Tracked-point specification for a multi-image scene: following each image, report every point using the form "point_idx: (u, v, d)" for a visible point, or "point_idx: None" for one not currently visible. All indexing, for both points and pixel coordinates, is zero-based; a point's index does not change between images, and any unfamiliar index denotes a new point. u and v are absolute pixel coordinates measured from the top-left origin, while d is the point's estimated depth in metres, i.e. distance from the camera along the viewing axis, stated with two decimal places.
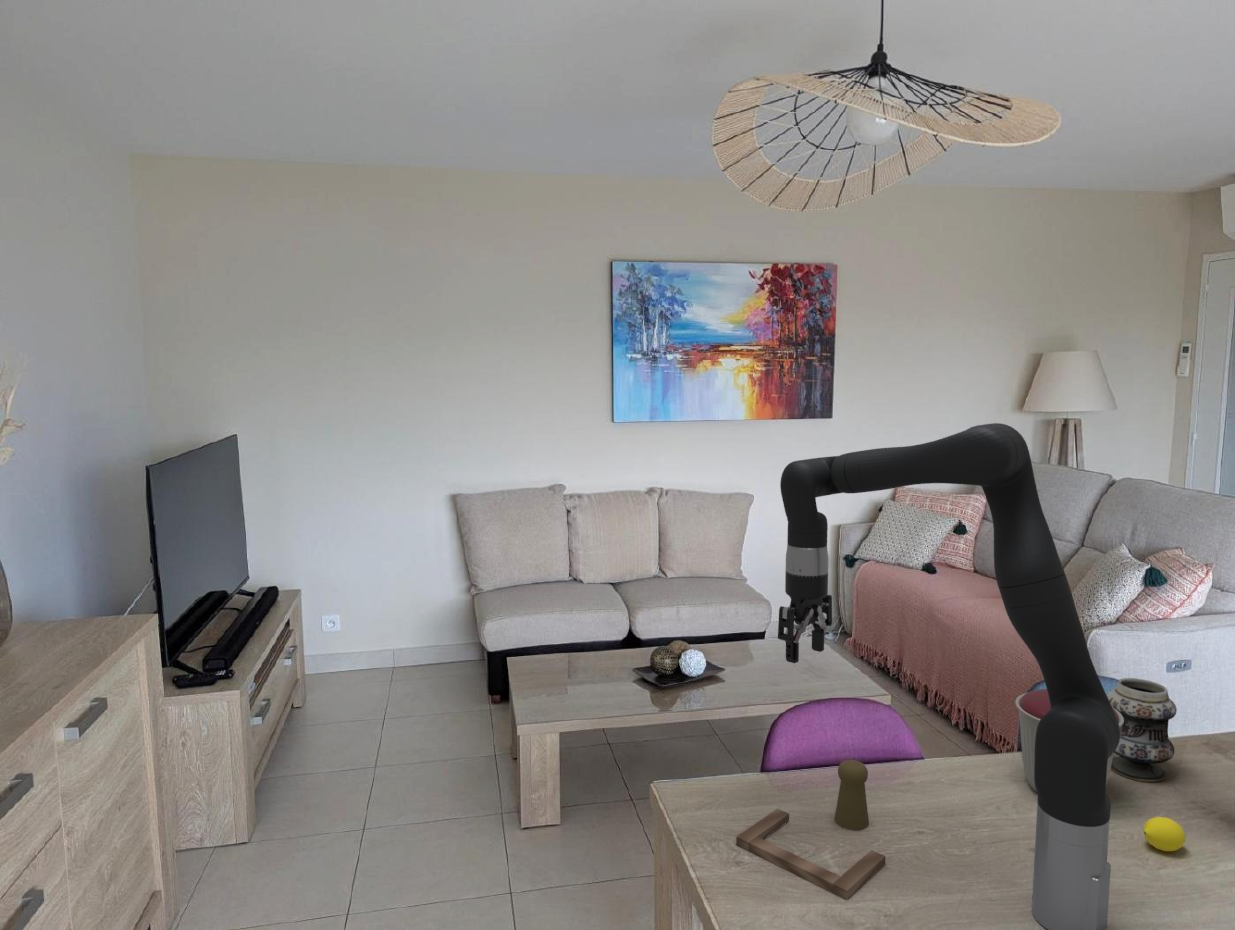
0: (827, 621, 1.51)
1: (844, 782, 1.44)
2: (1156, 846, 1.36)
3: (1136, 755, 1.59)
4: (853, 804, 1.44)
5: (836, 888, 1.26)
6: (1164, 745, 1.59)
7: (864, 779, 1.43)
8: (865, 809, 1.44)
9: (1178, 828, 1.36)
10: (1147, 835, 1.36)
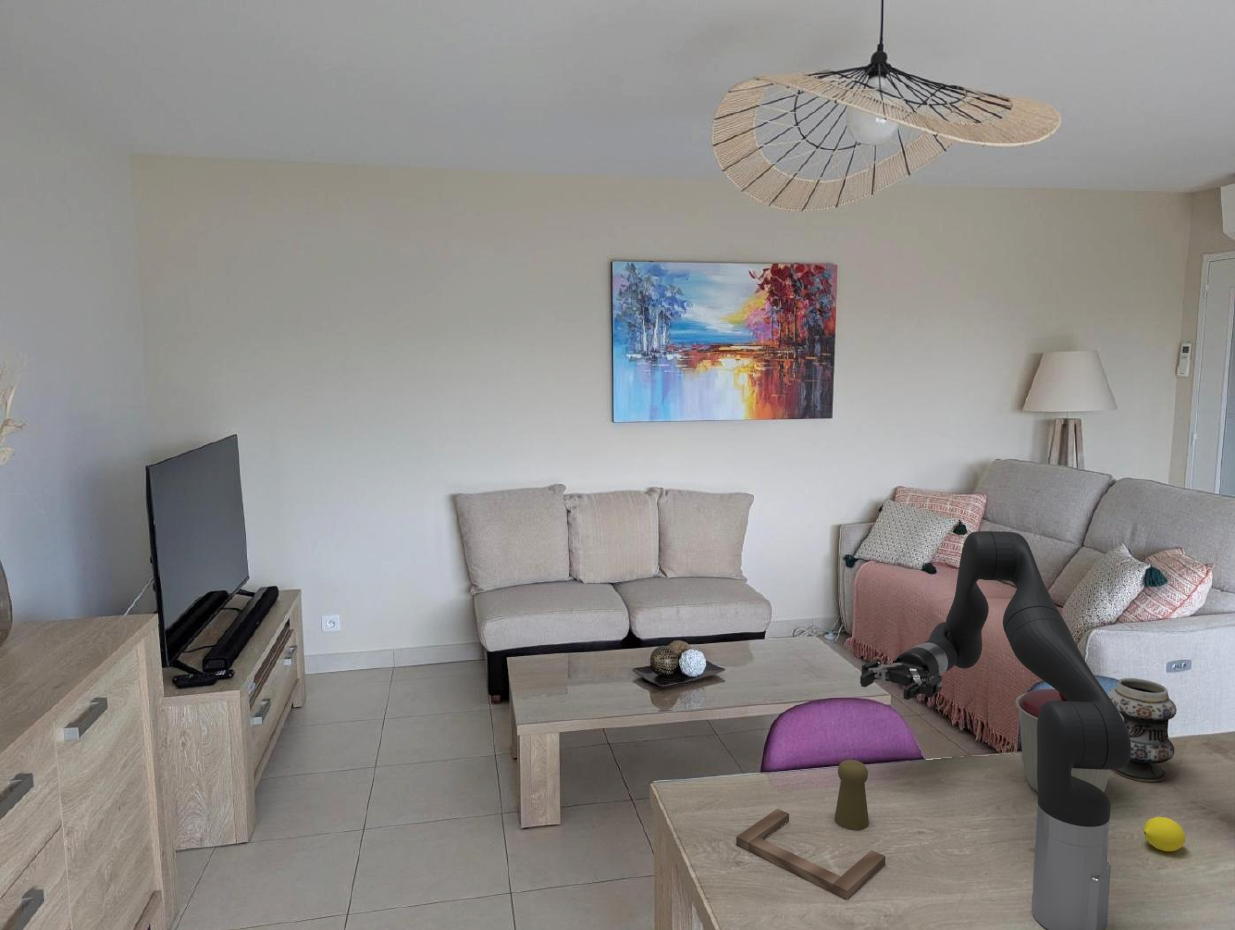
0: None
1: (844, 782, 1.44)
2: (1156, 846, 1.36)
3: (1136, 755, 1.59)
4: (853, 804, 1.44)
5: (836, 888, 1.26)
6: (1164, 745, 1.59)
7: (864, 779, 1.43)
8: (865, 809, 1.44)
9: (1178, 828, 1.36)
10: (1147, 835, 1.36)
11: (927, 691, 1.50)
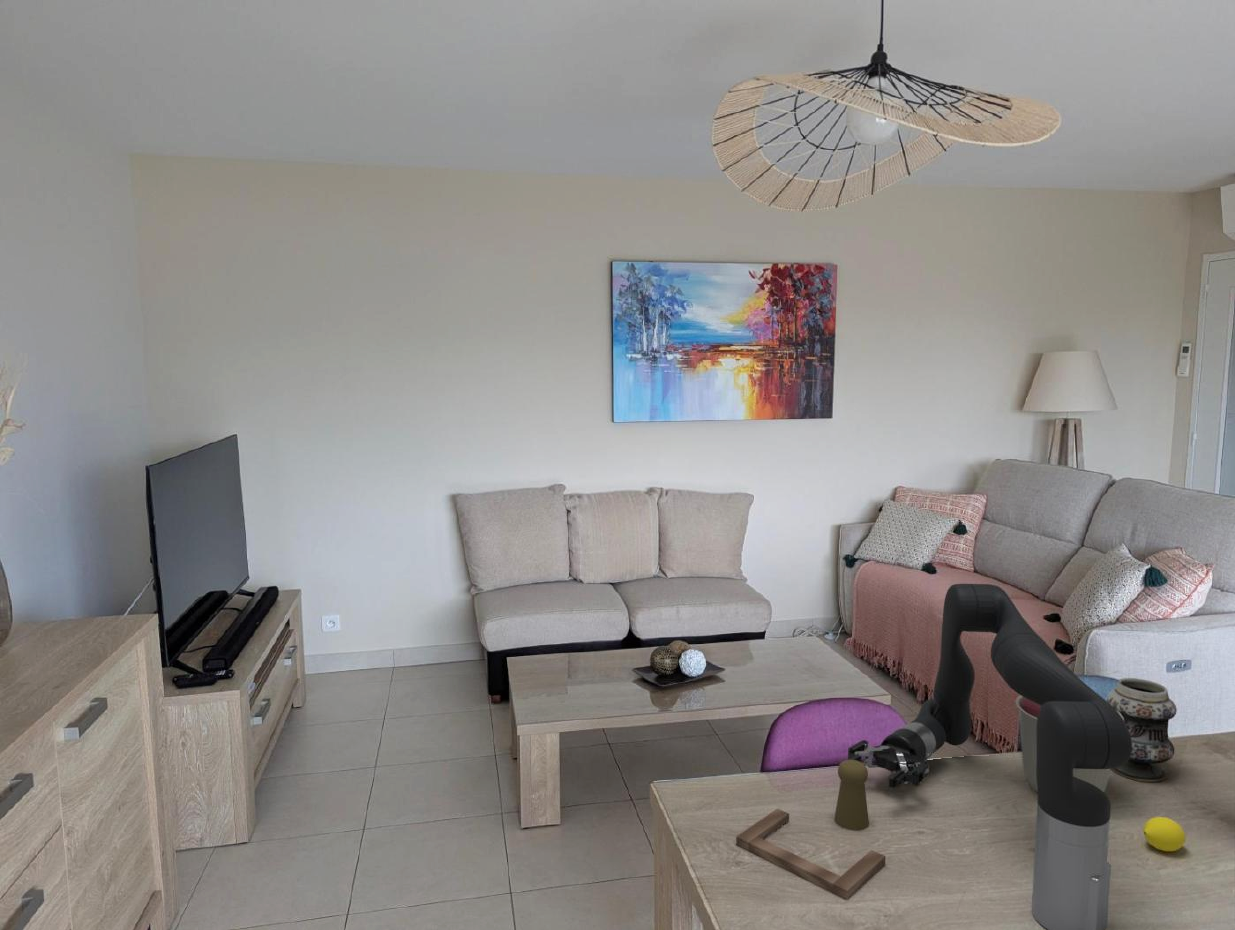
0: None
1: (844, 782, 1.44)
2: (1156, 846, 1.36)
3: (1136, 755, 1.59)
4: (853, 804, 1.44)
5: (836, 888, 1.26)
6: (1164, 745, 1.59)
7: (864, 779, 1.43)
8: (865, 809, 1.44)
9: (1178, 828, 1.36)
10: (1147, 835, 1.36)
11: (913, 779, 1.48)
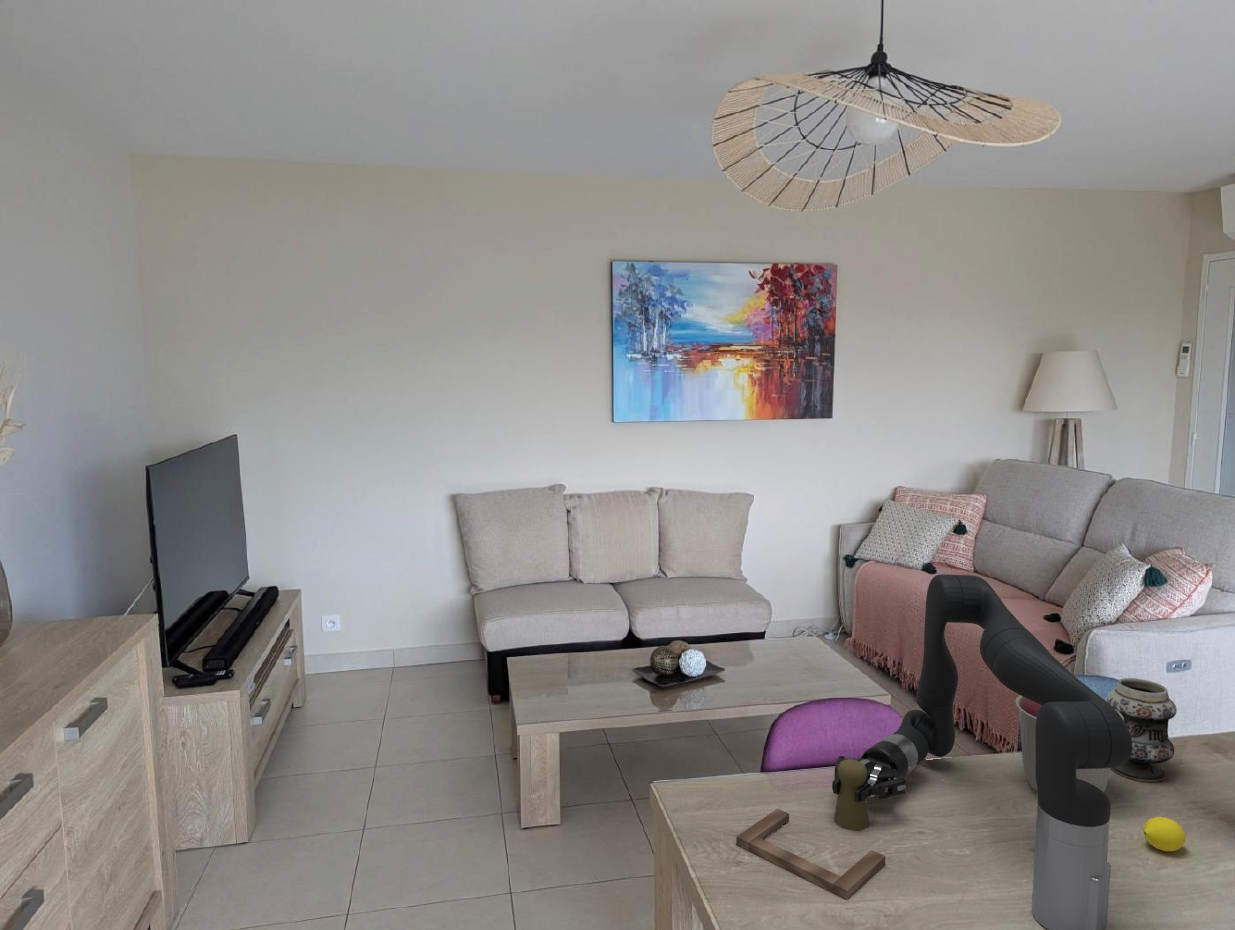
0: None
1: (843, 782, 1.44)
2: (1156, 846, 1.36)
3: (1136, 755, 1.59)
4: (853, 804, 1.44)
5: (836, 888, 1.26)
6: (1165, 745, 1.59)
7: (863, 779, 1.43)
8: (865, 809, 1.44)
9: (1178, 828, 1.36)
10: (1147, 835, 1.36)
11: (879, 793, 1.44)
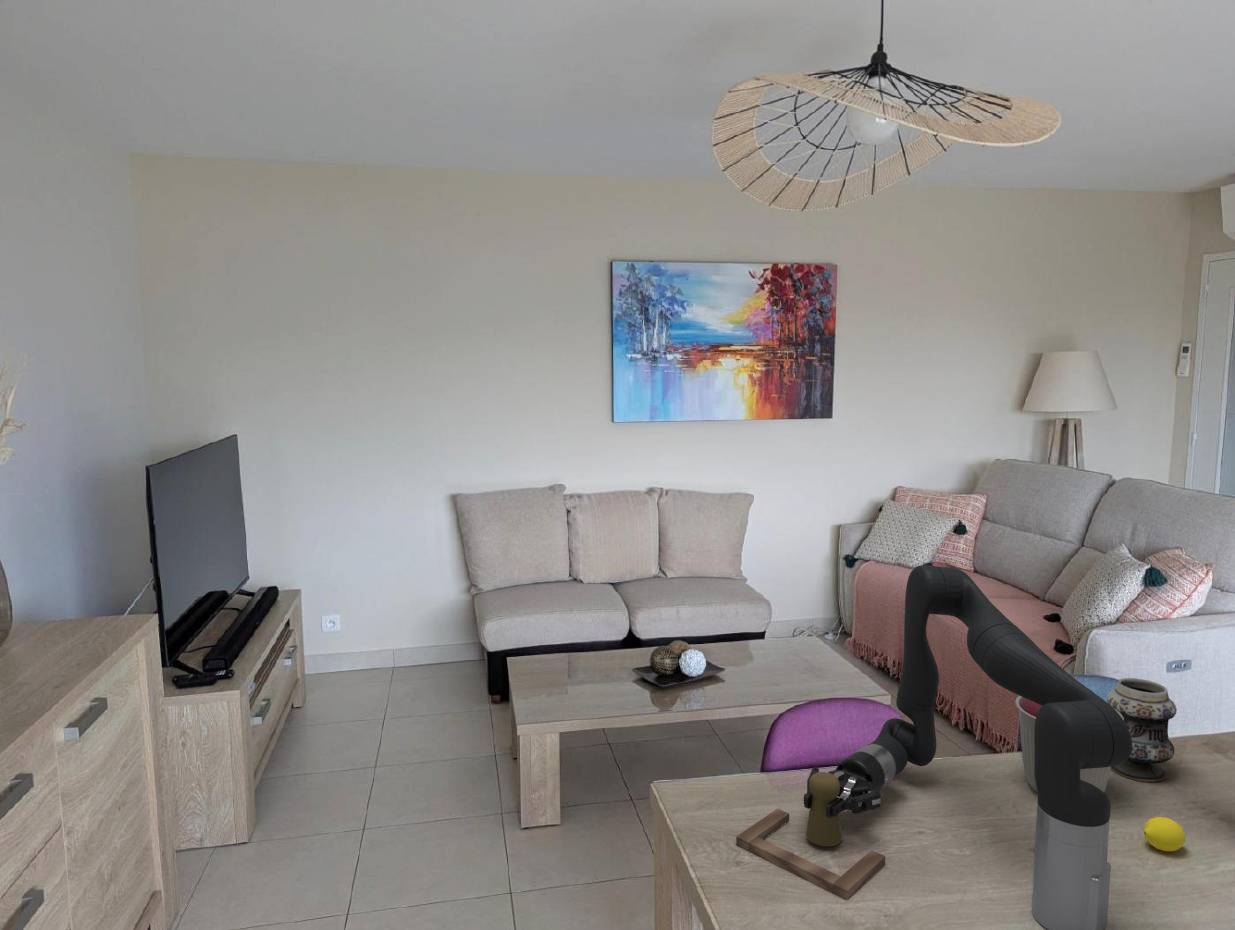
0: None
1: (815, 796, 1.38)
2: (1156, 846, 1.36)
3: (1136, 755, 1.59)
4: (824, 819, 1.37)
5: (836, 888, 1.26)
6: (1164, 745, 1.59)
7: (836, 793, 1.37)
8: (837, 824, 1.38)
9: (1178, 828, 1.35)
10: (1147, 835, 1.36)
11: (852, 807, 1.37)
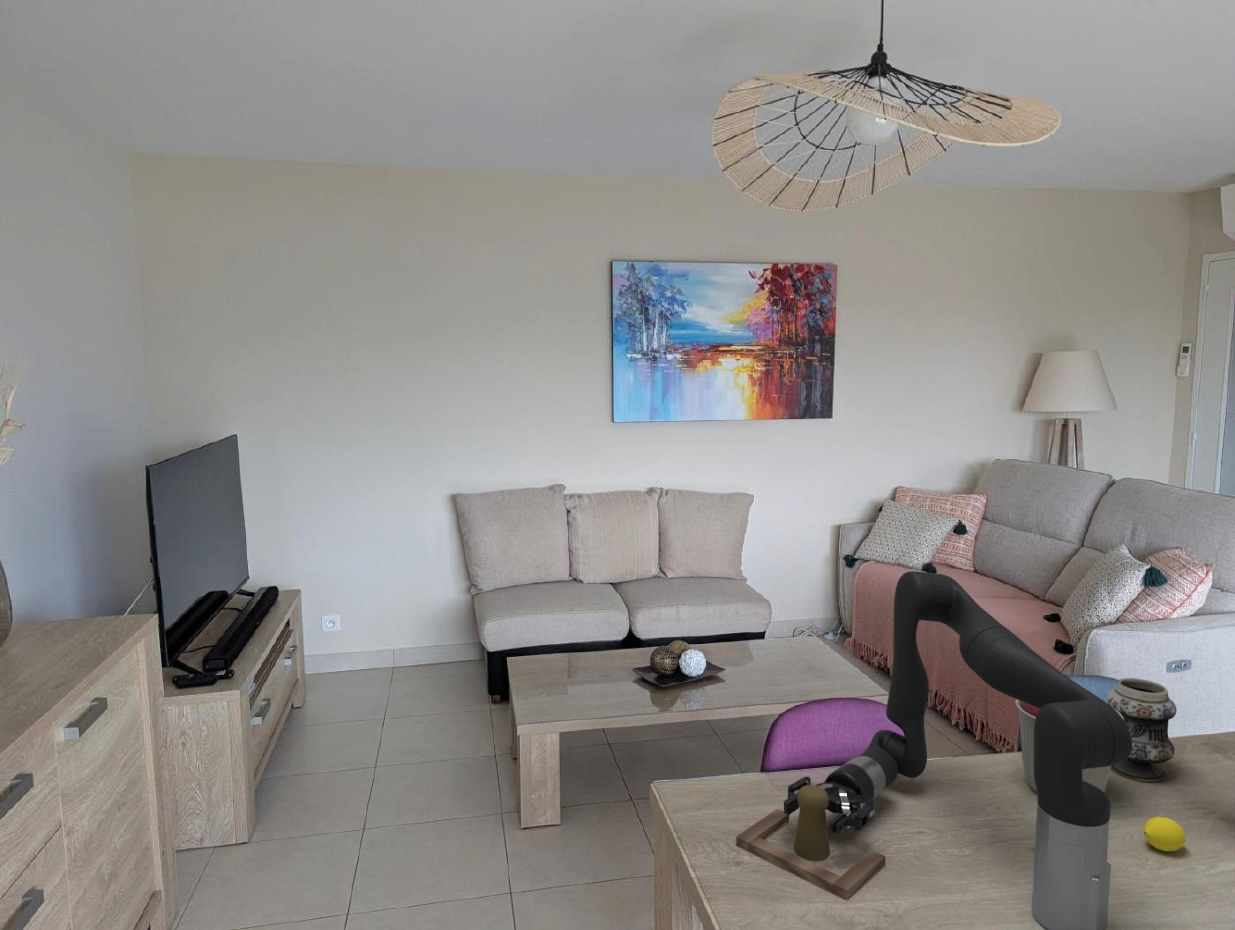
0: None
1: (803, 809, 1.35)
2: (1156, 846, 1.36)
3: (1136, 755, 1.59)
4: (812, 833, 1.35)
5: (836, 888, 1.26)
6: (1164, 745, 1.59)
7: (824, 806, 1.34)
8: (825, 838, 1.35)
9: (1178, 828, 1.36)
10: (1147, 835, 1.36)
11: (856, 824, 1.34)
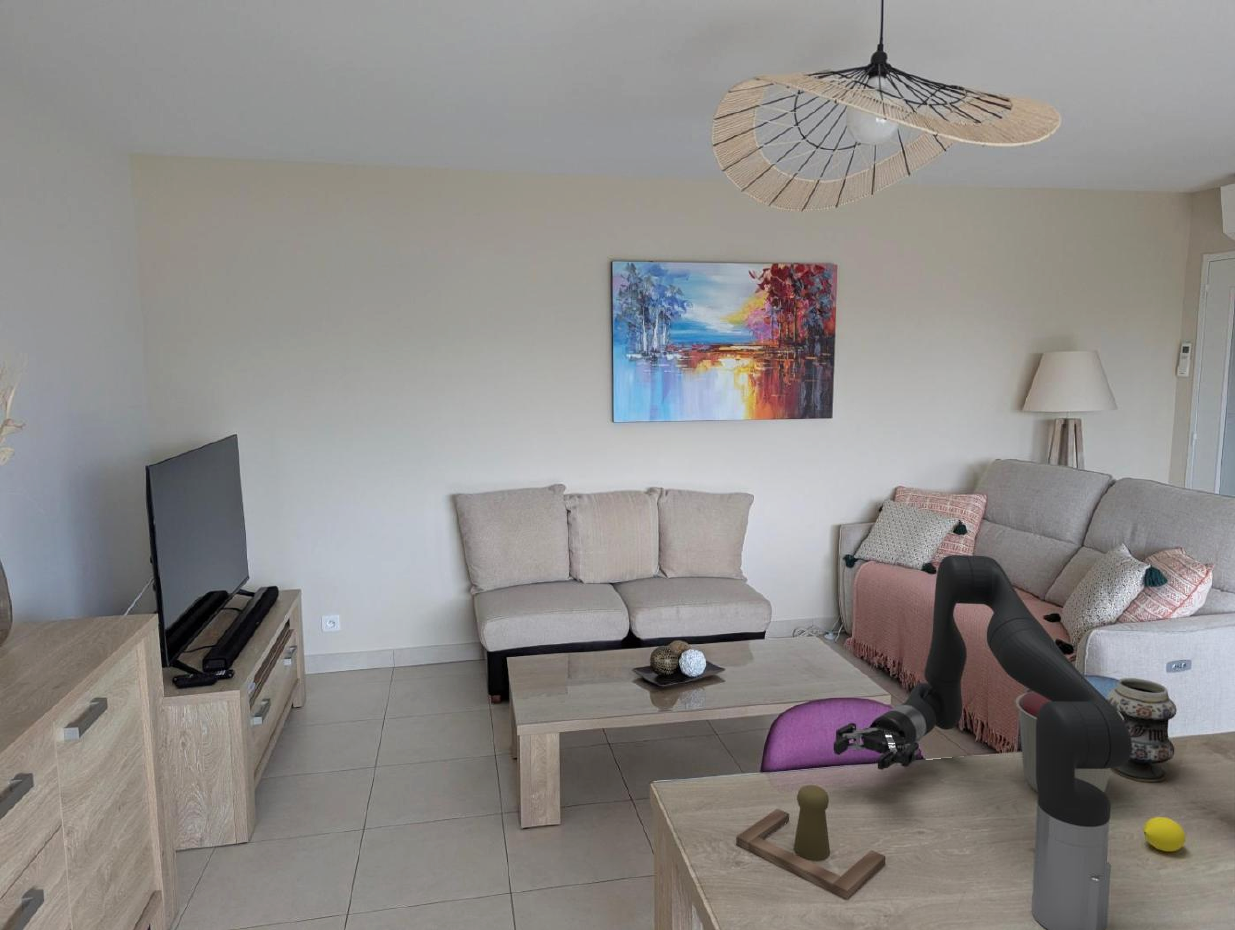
0: None
1: (803, 809, 1.35)
2: (1156, 846, 1.36)
3: (1136, 755, 1.59)
4: (812, 833, 1.35)
5: (836, 888, 1.26)
6: (1164, 745, 1.59)
7: (824, 806, 1.34)
8: (825, 838, 1.35)
9: (1178, 828, 1.35)
10: (1147, 835, 1.36)
11: (902, 760, 1.44)
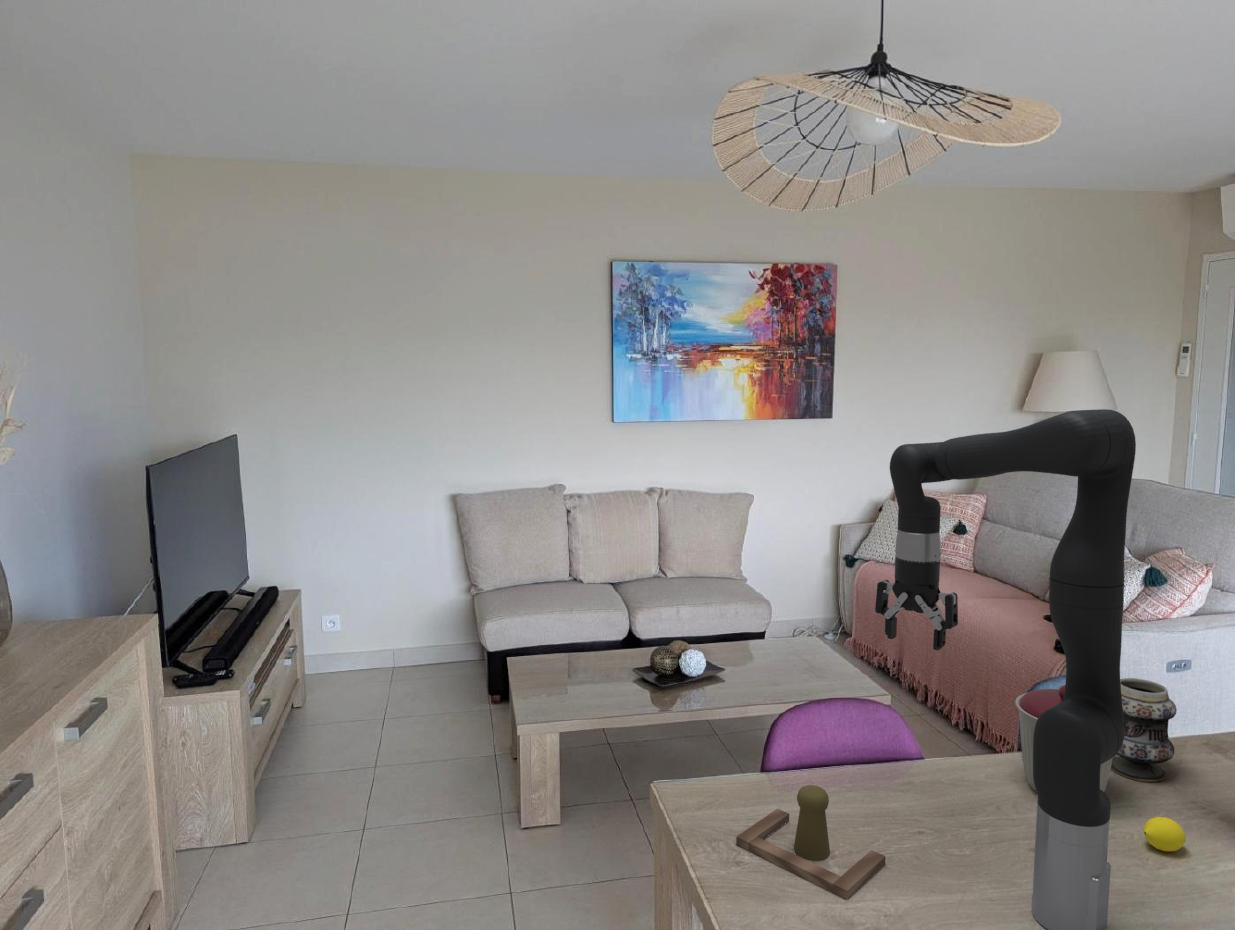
0: None
1: (803, 809, 1.35)
2: (1156, 846, 1.36)
3: (1136, 755, 1.59)
4: (812, 833, 1.35)
5: (836, 888, 1.26)
6: (1164, 745, 1.59)
7: (824, 806, 1.34)
8: (825, 838, 1.35)
9: (1178, 828, 1.35)
10: (1147, 835, 1.36)
11: None
